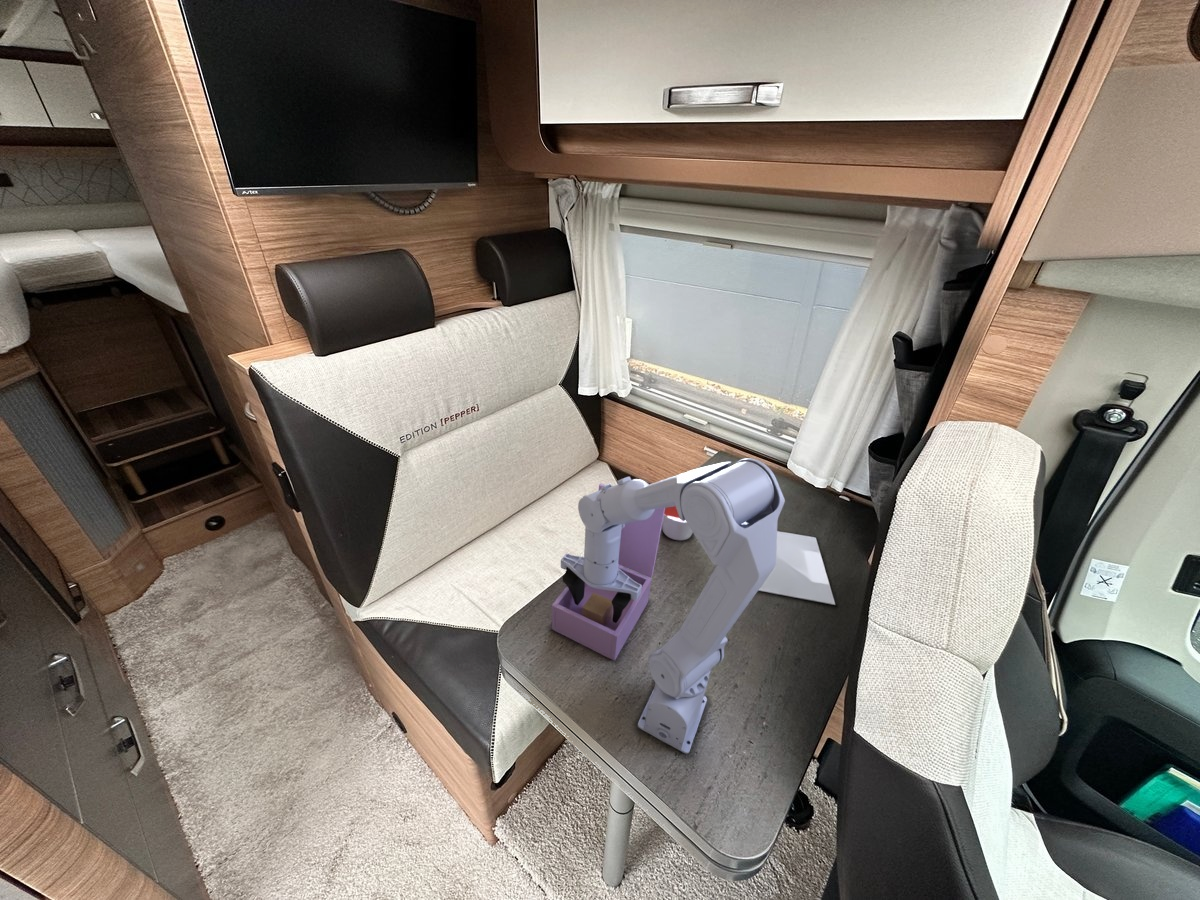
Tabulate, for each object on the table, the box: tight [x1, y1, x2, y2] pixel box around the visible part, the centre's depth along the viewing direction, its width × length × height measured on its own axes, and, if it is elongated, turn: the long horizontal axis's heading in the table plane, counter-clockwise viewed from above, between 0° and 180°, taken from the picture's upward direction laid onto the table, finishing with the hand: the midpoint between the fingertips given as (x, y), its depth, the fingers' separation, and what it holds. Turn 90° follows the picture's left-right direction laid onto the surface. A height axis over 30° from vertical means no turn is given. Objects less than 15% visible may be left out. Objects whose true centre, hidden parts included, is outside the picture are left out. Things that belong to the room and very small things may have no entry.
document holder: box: [757, 530, 836, 606], centre depth 101 cm, size 20×1×20 cm
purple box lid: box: [597, 483, 665, 579], centre depth 85 cm, size 16×13×1 cm
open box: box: [551, 564, 653, 662], centre depth 85 cm, size 15×13×6 cm
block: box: [582, 593, 612, 626], centre depth 84 cm, size 4×4×4 cm
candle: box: [661, 506, 694, 541], centre depth 107 cm, size 9×9×6 cm
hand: (597, 609), depth 83 cm, fingers open, 7 cm apart
